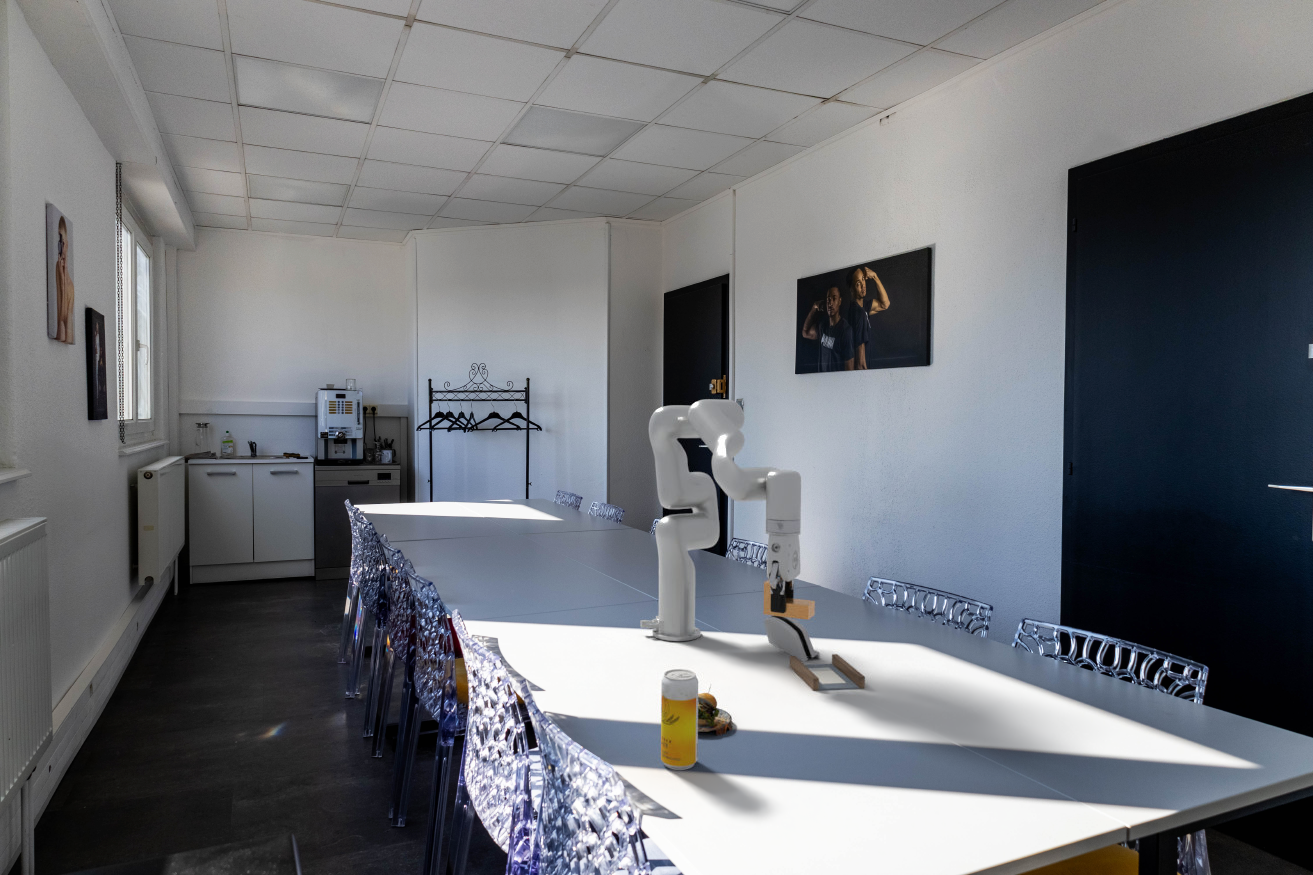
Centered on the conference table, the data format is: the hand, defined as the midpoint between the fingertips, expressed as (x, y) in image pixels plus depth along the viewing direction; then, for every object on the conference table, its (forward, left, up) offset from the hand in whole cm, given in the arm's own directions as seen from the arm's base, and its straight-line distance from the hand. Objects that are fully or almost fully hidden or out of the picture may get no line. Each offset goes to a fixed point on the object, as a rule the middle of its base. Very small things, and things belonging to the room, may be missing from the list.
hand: (782, 608), depth 177 cm
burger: (-23, -23, -16) cm, 36 cm away
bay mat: (+10, 0, -16) cm, 19 cm away
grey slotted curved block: (+8, +20, -16) cm, 27 cm away
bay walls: (+10, 0, -16) cm, 19 cm away
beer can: (-30, -39, -16) cm, 52 cm away
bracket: (+1, -1, -1) cm, 2 cm away
